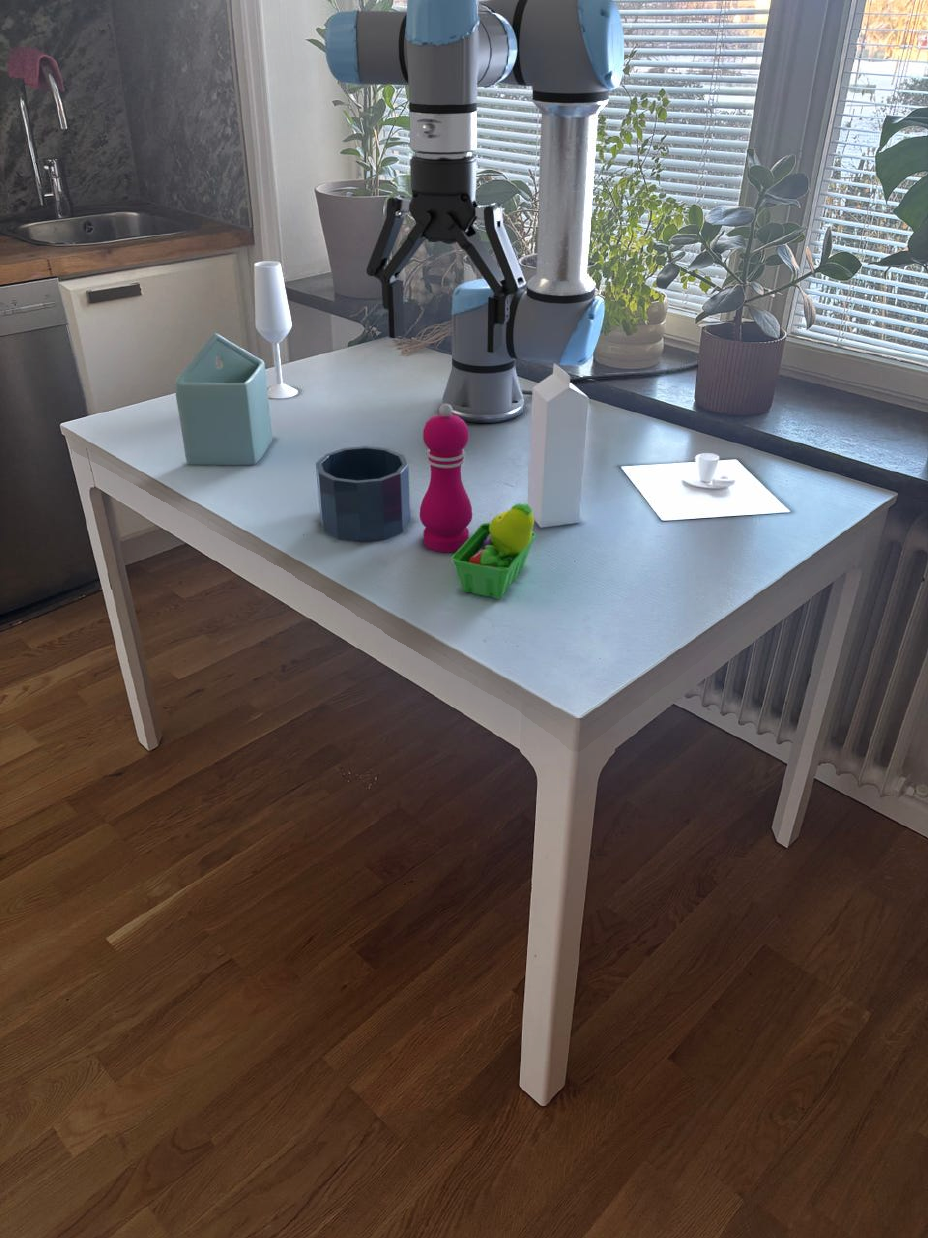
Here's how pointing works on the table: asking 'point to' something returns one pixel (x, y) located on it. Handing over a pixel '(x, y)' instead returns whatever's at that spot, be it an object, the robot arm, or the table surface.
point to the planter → (224, 406)
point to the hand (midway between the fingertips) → (444, 342)
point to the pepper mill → (445, 483)
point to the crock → (363, 493)
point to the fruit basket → (496, 552)
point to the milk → (556, 450)
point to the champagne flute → (272, 317)
